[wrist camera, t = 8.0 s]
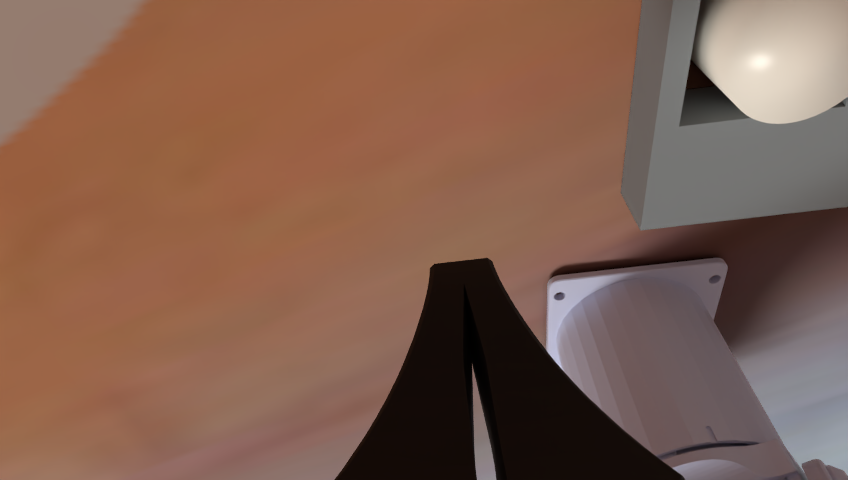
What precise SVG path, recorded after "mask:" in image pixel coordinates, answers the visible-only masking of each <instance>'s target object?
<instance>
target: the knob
mask: <svg viewBox="0 0 848 480" xmlns="http://www.w3.org/2000/svg"><path fill="white" fill-rule="evenodd" d="M691 60H692V61H693V62H694V64H695V65H696V66H697V67H698V68H699V69H700V70H701V71H702V72H703V73H704V74H705V75H706V76H707V77H708V78H709V79H710V80H711V81H712V82H713V83H714V84H715V85H716V86H717V87H718V88H719V89H720V90H721V91H722V92H723V93H724V94H725V95H726V96H727V97H728V98H729V99H730V100H731V101H732V102H733V103H734V104H735V105H736V106H737V107H738V108H739V109H740V110H741V111H742V112H743V113H744V114H746V115H747V116H749V117H751V118H752V119H755V120H757V121H760V122H765V123H771V124H785V123H792V122H798V121H801V120H805V119H808V118H811V117H813V116H816V115H818V114H820V113H822V112H825V111H827V110H828V109H830V108H832V107H833V106H835V105H837V104H838V103H840V102H841V101H843V100H844V99H845V98H847V97H848V0H701V2H700V7H699V13H698V19H697V25H696V31H695V36H694V42H693V48H692V54H691Z"/></svg>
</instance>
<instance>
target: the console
mask: <svg viewBox="0 0 848 480" xmlns="http://www.w3.org/2000/svg"><path fill="white" fill-rule="evenodd" d="M700 2H701V0H642V7H641V16H640V25H639V34H638V43H637V52H636V61H635V70H634V78H633V87H632V96H631V105H630V114H629V123H628V132H627V141H626V150H625V159H624V168H623V177H622V186H621V194H622V196H623V198H624V200H625V202H626V204H627V206H628V208H629V210H630V212H631V214H632V215H633V217H634V219H635V221H636V223H637V225H638V227H639V229H640V230H648V229H657V228H666V227H675V226H683V225H692V224H701V223H710V222H718V221H727V220H736V219H745V218H754V217H762V216H771V215H780V214H789V213H797V212H806V211H815V210H824V209H832V208H841V207H848V97H847V98H845V99H844V100H843V101H841V102H840V103H838V104H837V105H835V106H833V107H832V108H830V109H828V110H827V111H825V112H822V113H820V114H818V115H816V116H813V117H811V118H808V119H805V120H801V121H798V122H792V123H785V124H771V123H765V122H760V121H757V120H755V119H752V118H751V117H749V116H747V115H746V114H744V113H743V112H742V111H741V110H740V109H739V108H738V107H737V106H736V105H735V104H734V103H733V102H732V101H731V100H730V99H729V98H728V97H727V96H726V95H725V94H724V93H723V92H722V91H721V90H720V89H719V88H718V87H717V86H712V87H704V88H696V89H688V90H685V89H686V83H687V77H688V71H689V66H690V60H691V54H692V48H693V42H694V36H695V31H696V25H697V19H698V13H699V7H700Z"/></svg>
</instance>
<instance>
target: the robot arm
mask: <svg viewBox="0 0 848 480" xmlns="http://www.w3.org/2000/svg"><path fill="white" fill-rule="evenodd" d="M727 270H728V266H727V264H726V263H725V261H724V260H723V259H721V258H709V259H700V260H691V261H682V262H673V263H664V264H655V265H646V266H637V267H628V268H619V269H610V270H601V271H592V272H583V273H574V274H565V275H558V276H554V277H552V278H551V279H550V280H549V281H548V284H547V328H546V349H545V348H544V347H543V346H542V344H541V343H540V342H539V340H538V339H537V338H536V336H535V335H534V334H533V332H532V331H531V329H530V328H529V327H528V325H527V324H526V322H525V321H524V319H523V318H522V316H521V315H520V313H519V312H518V310H517V309H516V307H515V306H514V304H513V302H512V301H511V299H510V297H509V296H508V294H507V292H506V290H505V288H504V287H503V285H502V283H501V281H500V279H499V277H498V275H497V272H496V270H495V268H494V265H493V262H492V261H491V260H489V259H488V258H483V259H474V260H465V261H456V262H447V263H438V264H434V265H433V266H432V267H431V268H430V277H429V284H428V290H427V294H426V298H425V302H424V306H423V310H422V313H421V316H420V320H419V323H418V326H417V329H416V332H415V335H414V338H413V341H412V343H411V346H410V348H409V351H408V353H407V356H406V358H405V361H404V363H403V366H402V368H401V370H400V372H399V375H398V377H397V379H396V381H395V383H394V385H393V387H392V389H391V391H390V393H389V395H388V397H387V399H386V401H385V403H384V404H383V406H382V408H381V410H380V412H379V413H378V415H377V417H376V419H375V420H374V422H373V424H372V425H371V427H370V429H369V430H368V432H367V434H366V435H365V437H364V438H363V440H362V441H361V443H360V444H359V446H358V447H357V449H356V450H355V452H354V453H353V455H352V456H351V458H350V459H349V461H348V462H347V463H346V465H345V466H344V468H343V469H342V471H341V472H340V473H339V475H338V476H337V477H336V479H335V480H477V477H476V469H475V455H474V425H473V384H472V364H473V369H474V373H475V378H476V382H477V386H478V391H479V395H480V400H481V404H482V408H483V413H484V417H485V421H486V426H487V430H488V435H489V439H490V443H491V448H492V453H493V459H494V464H495V471H496V479H497V480H848V476H847V475H846V473H845V472H844V471H843V470H840V469H838V468H835V467H833V466H830V465H827V466H826V465H825V464H824V463H823V462H822V461H821V460H819V459H814V460H811V461H808V462H805V463H803V464H802V468H803V470H804V472H805V473H804V472H803V470H802V469H801V468H800V466H799V465H798V464H797V462H796V461H795V460H794V458H793V457H792V455H791V454H790V453H789V451H788V450H787V449H786V447H785V446H784V444H783V442H782V440H781V439H780V437H779V435H778V433H777V432H776V430H775V428H774V426H773V424H772V423H771V421H770V419H769V417H768V416H767V414H766V412H765V410H764V409H763V407H762V405H761V403H760V402H759V400H758V398H757V396H756V395H755V393H754V391H753V389H752V388H751V386H750V384H749V382H748V380H747V379H746V377H745V375H744V373H743V372H742V370H741V368H740V366H739V365H738V363H737V361H736V359H735V358H734V356H733V354H732V352H731V351H730V349H729V347H728V345H727V344H726V342H725V340H724V338H723V336H722V335H721V333H720V331H719V329H718V328H717V326H716V324H715V322H714V317H715V314H716V310H717V307H718V303H719V299H720V296H721V292H722V288H723V285H724V281H725V278H726V274H727ZM714 275H715V276H714ZM712 276H714V277H712ZM559 292H562V293H561V294H558V295H557V294H556V293H559Z"/></svg>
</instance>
